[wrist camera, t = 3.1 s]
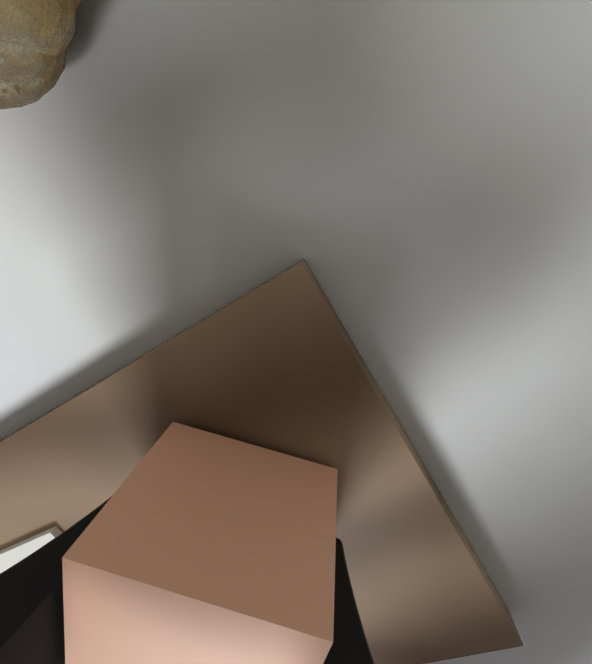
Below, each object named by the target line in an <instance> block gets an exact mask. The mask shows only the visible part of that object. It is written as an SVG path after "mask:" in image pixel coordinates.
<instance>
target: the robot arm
mask: <svg viewBox="0 0 592 664" xmlns="http://www.w3.org/2000/svg"><path fill="white" fill-rule="evenodd" d="M111 497H112V496H111ZM111 497H110V498H111ZM110 498H109V499H107V500H106V501H105V502H104V503H102V504H101V505H100V506H98V507H97V508H96V509H94V510H93V511H92V512H90V513H89V514H88V515H86V516H85V517H84V518H82V519H81V520H79V521H78V522H77V523H75V524H74V525H73V526H71V527H70V528H68V529H67V530H66V531H64V532H63V533H61V534H60V535H59V536H57V537H56V538H54V539H53V540H51V541H50V542H48V543H47V544H45V545H44V546H42V547H41V548H39V549H38V550H36V551H35V552H33V553H32V554H30V555H29V556H27V557H26V558H24V559H23V560H21V561H20V562H18V563H16V564H15V565H13V566H12V567H10V568H8V569H7V570H5V571H4V572H2V573H0V664H65V638H64V605H63V572H62V557H63V556H64V555H65V553H66V552H67V551H68V550H69V549H70V547H71V546H72V545H73V544H74V542H75V541H76V540H77V539H78V538H79V536H80V535H81V534H82V533H83V531H84V530H85V529H86V528H87V527H88V525H89V524H90V523H91V522H92V520H93V519H94V518H95V517H96V515H97V514H98V513H99V512H100V511H101V509H102V508H103V507H104V506H105V504H106V503H107V502H108V501H109V500H110ZM323 664H374V661H373V658H372V655H371V652H370V649H369V646H368V643H367V639H366V636H365V633H364V629H363V626H362V622H361V619H360V616H359V612H358V609H357V605H356V601H355V598H354V594H353V590H352V586H351V582H350V578H349V573H348V569H347V564H346V560H345V554H344V549H343V543H342V541H341V540H340V539H338V538H336V551H335V591H334V631H333V644H332V646H331V648H330V650H329V652H328V654H327V657H326V659H325V661H324V663H323Z"/></svg>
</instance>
